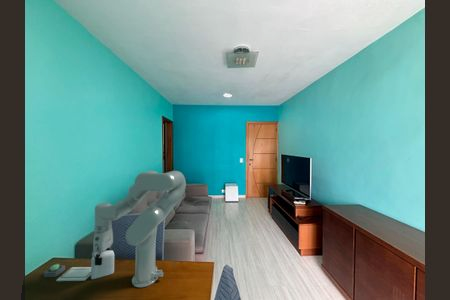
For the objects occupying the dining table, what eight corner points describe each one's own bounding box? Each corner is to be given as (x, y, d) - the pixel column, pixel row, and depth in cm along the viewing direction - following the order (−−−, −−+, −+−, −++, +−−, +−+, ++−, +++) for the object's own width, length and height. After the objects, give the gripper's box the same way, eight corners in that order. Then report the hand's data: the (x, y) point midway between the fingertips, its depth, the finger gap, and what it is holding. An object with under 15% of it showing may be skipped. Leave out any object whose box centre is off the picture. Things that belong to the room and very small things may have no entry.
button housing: (65, 269, 101) (65, 265, 101) (55, 277, 95) (55, 272, 95) (54, 269, 101) (54, 265, 101) (43, 277, 95) (43, 272, 95)
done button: (61, 268, 100) (61, 263, 100) (55, 272, 96) (55, 268, 96) (54, 268, 100) (54, 263, 100) (48, 272, 96) (48, 268, 96)
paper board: (97, 267, 103) (97, 266, 103) (84, 280, 93) (84, 279, 93) (72, 268, 102) (72, 267, 102) (56, 281, 92) (56, 279, 92)
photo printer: (114, 269, 102) (114, 247, 102) (114, 274, 98) (114, 250, 98) (91, 276, 96) (91, 252, 96) (90, 281, 93) (90, 256, 93)
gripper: (99, 234, 89) (99, 271, 88) (119, 220, 106) (118, 251, 106) (84, 234, 88) (83, 271, 88) (106, 220, 106) (105, 251, 105)
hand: (102, 260), depth 97 cm, fingers closed on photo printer, 6 cm apart
